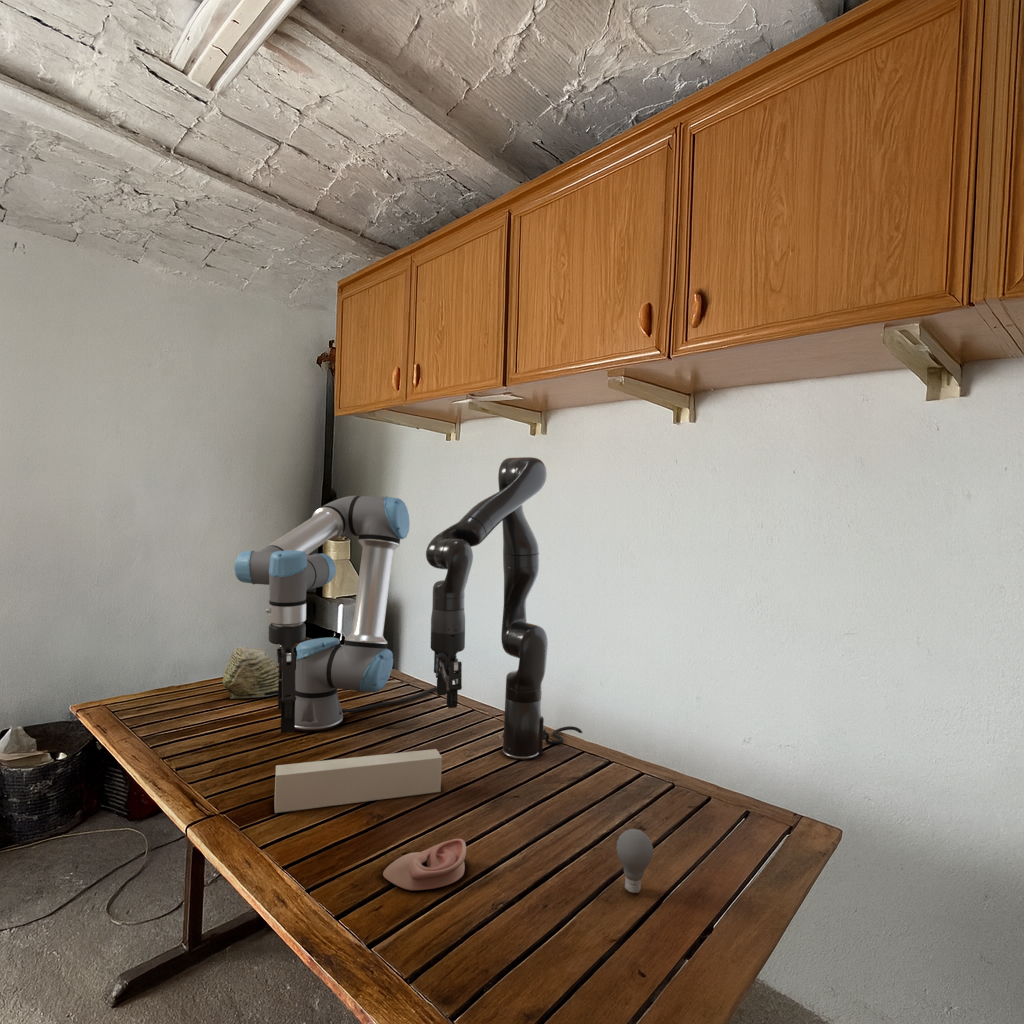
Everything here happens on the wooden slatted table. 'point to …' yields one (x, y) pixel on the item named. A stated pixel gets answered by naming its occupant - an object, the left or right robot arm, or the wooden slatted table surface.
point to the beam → (356, 779)
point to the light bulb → (634, 857)
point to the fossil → (250, 674)
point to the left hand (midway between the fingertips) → (285, 719)
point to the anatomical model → (429, 867)
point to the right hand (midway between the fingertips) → (446, 701)
